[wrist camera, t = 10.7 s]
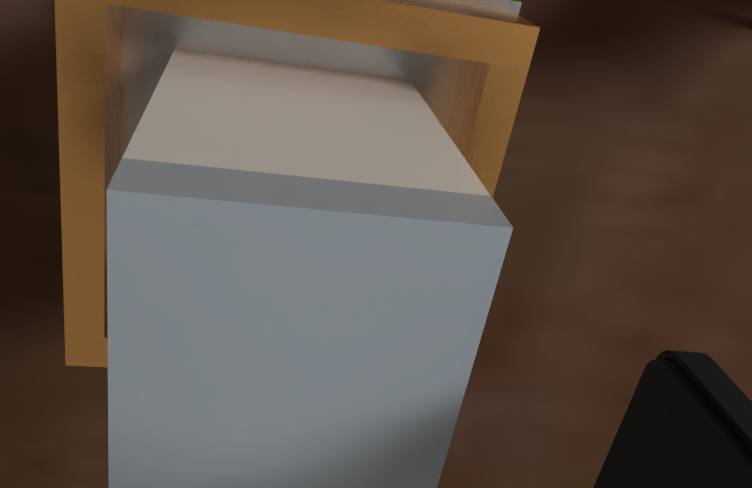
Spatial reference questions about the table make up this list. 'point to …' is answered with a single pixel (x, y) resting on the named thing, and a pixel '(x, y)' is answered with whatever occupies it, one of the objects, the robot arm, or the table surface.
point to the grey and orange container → (273, 45)
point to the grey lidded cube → (291, 282)
